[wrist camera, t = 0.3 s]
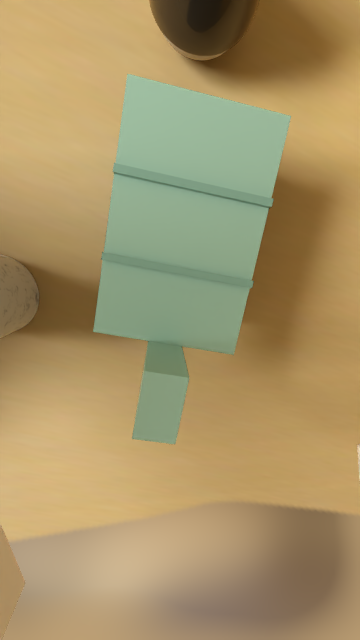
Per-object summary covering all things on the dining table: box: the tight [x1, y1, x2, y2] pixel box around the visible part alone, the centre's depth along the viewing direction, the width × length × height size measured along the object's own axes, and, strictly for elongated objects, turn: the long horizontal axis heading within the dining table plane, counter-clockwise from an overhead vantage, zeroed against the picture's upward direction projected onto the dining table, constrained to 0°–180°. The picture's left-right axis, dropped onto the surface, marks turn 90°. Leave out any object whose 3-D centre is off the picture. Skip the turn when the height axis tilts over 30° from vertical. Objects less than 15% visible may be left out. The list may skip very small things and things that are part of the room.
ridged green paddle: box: [93, 74, 291, 444], centre depth 21 cm, size 13×25×8 cm, turn 169°
